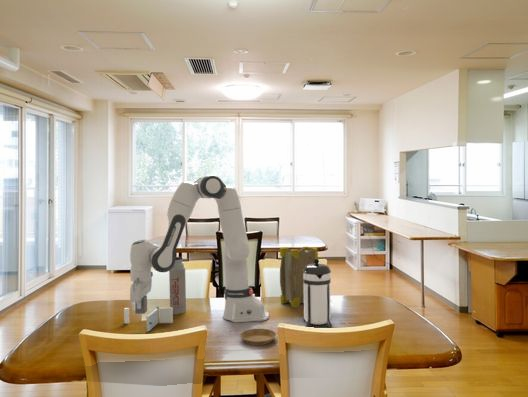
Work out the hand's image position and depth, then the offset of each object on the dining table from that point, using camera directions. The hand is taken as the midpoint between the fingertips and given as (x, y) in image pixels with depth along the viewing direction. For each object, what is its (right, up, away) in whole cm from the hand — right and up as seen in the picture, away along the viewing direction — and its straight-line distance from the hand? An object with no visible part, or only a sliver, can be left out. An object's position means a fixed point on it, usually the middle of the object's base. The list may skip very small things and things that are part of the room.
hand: (141, 306), depth 192 cm
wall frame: (+1, -10, +8) cm, 13 cm away
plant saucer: (+53, -10, -17) cm, 57 cm away
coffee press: (+79, -9, +4) cm, 80 cm away
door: (+5, -9, +1) cm, 11 cm away
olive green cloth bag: (+75, -8, +39) cm, 85 cm away
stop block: (0, -3, 0) cm, 3 cm away
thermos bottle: (+12, -9, +25) cm, 29 cm away
